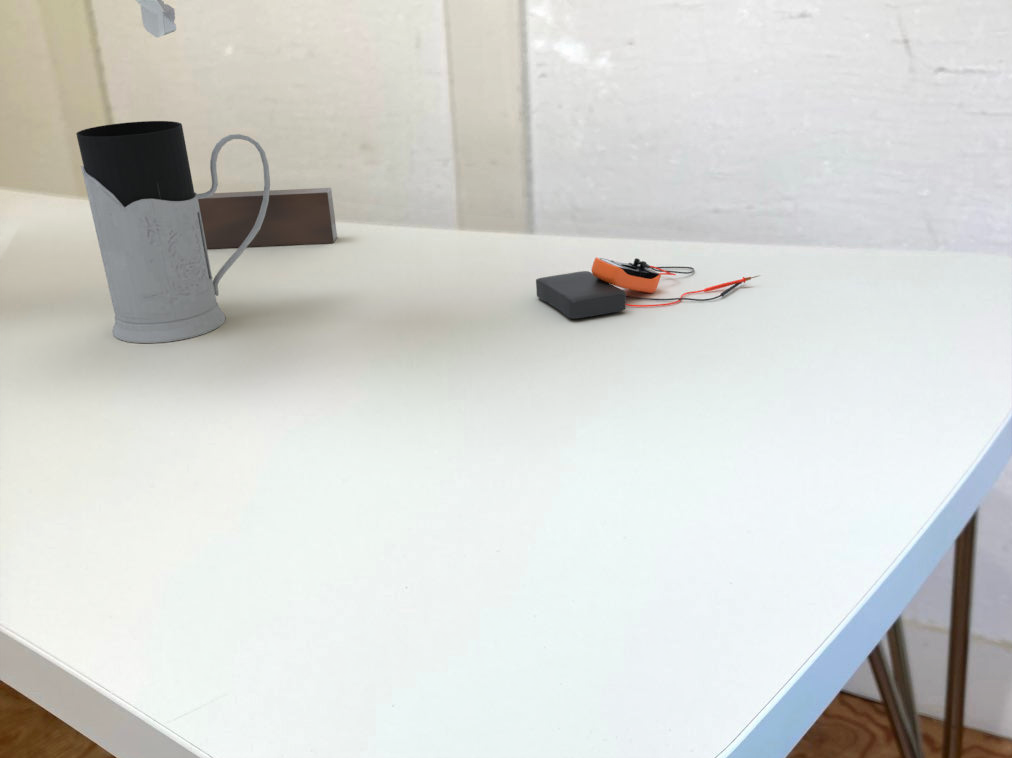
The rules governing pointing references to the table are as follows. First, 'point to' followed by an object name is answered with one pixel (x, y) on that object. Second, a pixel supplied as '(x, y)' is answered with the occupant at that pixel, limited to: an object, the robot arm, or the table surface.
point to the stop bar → (269, 218)
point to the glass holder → (155, 229)
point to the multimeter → (609, 287)
